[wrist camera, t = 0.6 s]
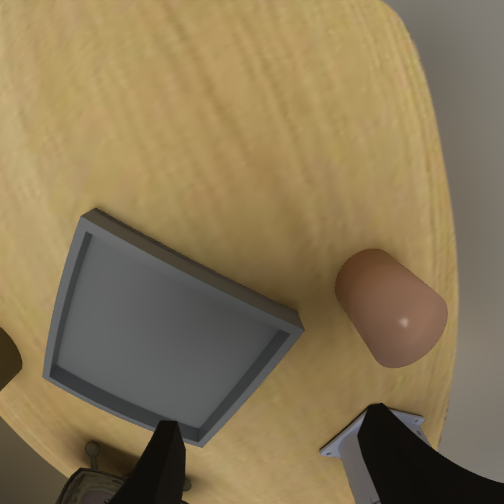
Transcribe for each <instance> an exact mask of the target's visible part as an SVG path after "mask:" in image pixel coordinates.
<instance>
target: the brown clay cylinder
mask: <svg viewBox="0 0 504 504" xmlns="http://www.w3.org/2000/svg"><path fill="white" fill-rule="evenodd" d="M335 292H336V297H337V299H338V301H339V303H340V304H341V306H342V307H343V309H344V310H345V312H346V313H347V315H348V317H349V318H350V320H351V321H352V323H353V324H354V326H355V328H356V329H357V331H358V332H359V334H360V335H361V337H362V339H363V340H364V342H365V343H366V345H367V347H368V348H369V350H370V351H371V353H372V355H373V356H374V358H375V359H376V361H377V362H378V363H379V364H381V365H382V366H384V367H388V368H399V367H404V366H407V365H410V364H412V363H414V362H416V361H417V360H419V359H420V358H422V357H423V356H424V355H426V354H427V353H428V352H429V351H430V350H431V349H432V348H433V347H434V345H435V344H436V343H437V341H438V340H439V338H440V337H441V335H442V333H443V331H444V328H445V326H446V322H447V314H448V312H447V306H446V303H445V301H444V300H443V298H442V297H441V296H440V295H439V294H437V293H436V292H435V291H434V290H433V289H431V288H430V287H429V286H428V285H427V284H425V283H424V282H423V281H422V280H421V279H419V278H418V277H417V276H416V275H415V274H413V273H412V272H411V271H410V270H408V269H407V268H406V267H405V266H403V265H402V264H401V263H400V262H398V261H397V260H396V259H395V258H393V257H392V256H391V255H389V254H388V253H387V252H385V251H383V250H380V249H367V250H363V251H360V252H358V253H356V254H355V255H353V256H352V257H351V258H349V259H348V260H347V261H346V262H345V264H344V265H343V266H342V268H341V269H340V271H339V273H338V276H337V279H336V283H335Z"/></svg>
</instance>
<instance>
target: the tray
mask: <svg viewBox="0 0 504 504" xmlns="http://www.w3.org/2000/svg"><path fill="white" fill-rule="evenodd" d="M303 332H304V327H303V324H302V322H301V319H300V317H299V314H298V313H297V312H295V311H293V310H291V309H289V308H287V307H285V306H283V305H281V304H279V303H277V302H275V301H273V300H271V299H269V298H267V297H264V296H262V295H260V294H258V293H256V292H254V291H252V290H250V289H248V288H246V287H244V286H242V285H240V284H238V283H236V282H234V281H232V280H230V279H228V278H226V277H224V276H222V275H220V274H218V273H216V272H215V271H213V270H211V269H209V268H207V267H205V266H203V265H201V264H199V263H197V262H195V261H193V260H191V259H189V258H187V257H185V256H184V255H182V254H180V253H178V252H176V251H174V250H172V249H170V248H168V247H166V246H164V245H163V244H161V243H159V242H157V241H155V240H153V239H151V238H149V237H148V236H146V235H144V234H142V233H140V232H138V231H136V230H135V229H133V228H131V227H129V226H127V225H125V224H124V223H122V222H120V221H118V220H116V219H115V218H113V217H111V216H109V215H107V214H105V213H104V212H102V211H100V210H98V209H96V208H94V209H92V210H90V211H89V212H87V213H85V214H83V215H82V216H80V219H79V222H78V225H77V228H76V231H75V234H74V237H73V240H72V243H71V246H70V249H69V253H68V256H67V259H66V263H65V266H64V270H63V274H62V277H61V281H60V285H59V289H58V293H57V297H56V301H55V306H54V310H53V315H52V320H51V325H50V330H49V336H48V341H47V347H46V354H45V360H44V368H43V376H42V377H43V378H44V379H46V380H48V381H49V382H51V383H53V384H54V385H56V386H58V387H59V388H61V389H63V390H65V391H67V392H68V393H70V394H72V395H74V396H76V397H78V398H80V399H81V400H83V401H85V402H87V403H89V404H91V405H93V406H95V407H97V408H99V409H102V410H104V411H106V412H108V413H110V414H112V415H114V416H117V417H119V418H121V419H124V420H126V421H128V422H131V423H133V424H135V425H138V426H140V427H143V428H145V429H148V430H151V431H153V432H155V429H156V427H157V425H158V423H159V421H161V420H169V421H178V425H179V428H180V432H181V435H182V439H183V442H185V443H188V444H191V445H194V446H198V447H201V448H202V447H203V446H204V445H205V444H206V443H207V442H208V441H209V440H210V439H211V438H212V437H213V436H214V435H215V434H216V433H217V432H218V431H219V430H220V429H221V428H222V427H223V426H224V425H225V423H226V422H227V421H228V420H229V419H230V418H231V417H232V416H233V415H234V414H235V413H236V412H237V410H238V409H239V408H240V407H241V406H242V405H243V404H244V403H245V401H246V400H247V399H248V398H249V397H250V396H251V395H252V394H253V392H254V391H255V390H256V389H257V388H258V387H259V385H260V384H261V383H262V382H263V381H264V380H265V378H266V377H267V376H268V375H269V374H270V373H271V371H272V370H273V369H274V368H275V367H276V365H277V364H278V363H279V362H280V361H281V359H282V358H283V357H284V356H285V354H286V353H287V352H288V351H289V349H290V348H291V347H292V346H293V344H294V343H295V342H296V341H297V339H298V338H299V337H300V336H301V334H302V333H303Z"/></svg>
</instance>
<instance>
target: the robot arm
mask: <svg viewBox="0 0 504 504" xmlns="http://www.w3.org/2000/svg"><path fill="white" fill-rule="evenodd" d="M424 420H425V419H424V417H422V416H417V415H413V414H408V413H404V412H399V411H395V410H391V409H388V408H387V407H386V406H385V405H384V404H383V403H379V404H375V405H370V406H368V409H367V410H366V411H365V412H364V413H363V414H362V415H361V416H360V417H358V418H357V419H356V420H355V421H354V422H353V423H352V424H351V425H350V426H349V427H347V428H346V429H345V430H344V431H343V432H342V433H341V434H339V435H338V436H337V437H336V438H335V439H334V440H332V441H331V442H330V443H329V444H328V445H326V446H325V447H324V448H323V449H321V450H320V455H322V456H330V457H338V458H341V460H342V463H343V466H344V469H345V472H346V475H347V478H348V481H349V484H350V488H351V491H352V494H353V497H354V500H355V503H356V504H504V483H500V482H496V481H493V480H490V479H487V478H484V477H482V476H479V475H477V474H475V473H472V472H470V471H468V470H466V469H464V468H462V467H460V466H458V465H457V464H455V463H453V462H451V461H450V460H449V459H447V458H445V457H444V456H442V455H441V454H439V453H438V452H437V451H435V450H434V449H433V448H432V447H431V445H430V443H429V442H428V440H427V438H426V436H425V435H424V433H423V431H422V429H421V428H420V425H421V424H422V423H423V422H424ZM185 460H186V449H185V446H184V442H183V439H182V435H181V432H180V428H179V425H178V421H169V420H161V421H159V423H158V425H157V427H156V429H155V432H154V434H153V436H152V438H151V440H150V442H149V443H148V445H147V447H146V449H145V451H144V452H143V454H142V456H141V457H140V459H139V461H138V462H137V464H136V466H135V467H134V469H133V470H132V472H131V473H130V475H129V476H128V478H127V479H126V480H125V482H124V483H123V485H122V486H121V487H120V489H119V490H118V491H117V492H116V494H115V495H114V496H113V497H112V498H111V499H110V501H109V502H108V503H107V504H181V499H182V492H183V485H184V478H185Z"/></svg>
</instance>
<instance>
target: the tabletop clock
mask: <svg viewBox="0 0 504 504" xmlns="http://www.w3.org/2000/svg"><path fill="white" fill-rule="evenodd" d="M85 451H86V453H87V454H88V455H89V456H91V469H89V468H79V469H78V470H77V471H76V472H75V473H74V474H73V475H71V477H70V478H69V480H68V482H67V483H66V485H65V486H64V488H63V490H62V492H61V494H60V495H59V497H58V499H57V501H56V503H55V504H107V503H108V502H109V501H110V499H111V498H112V497H113V496H114V495H115V494H116V492H117V491H118V490H119V489H120V487H121V486H122V485H123V483H124V482H125V480H126V479H127V478H128V476H129V475H123V476H122V477H118V476H115V475H112V474H110V473H107V472H104V471H100V470H98V466H97V461H96V456H97V455H99V453H100V448H99V446H98V445H97V444H95V443H92V442H90V443H88V444H87V445H86V446H85ZM190 488H191V483H190V481H189V480H187V479H184V485H183V491H188V490H190ZM181 504H189V503H187V502H185V501H183V500H181Z"/></svg>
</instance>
